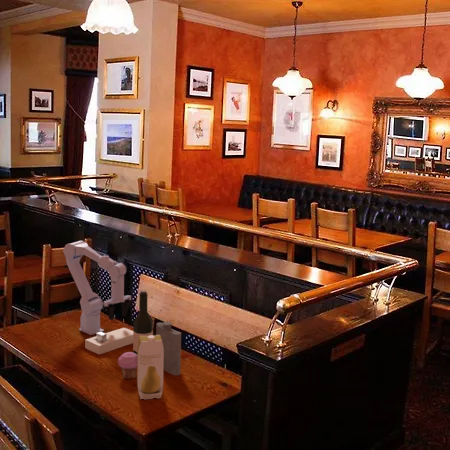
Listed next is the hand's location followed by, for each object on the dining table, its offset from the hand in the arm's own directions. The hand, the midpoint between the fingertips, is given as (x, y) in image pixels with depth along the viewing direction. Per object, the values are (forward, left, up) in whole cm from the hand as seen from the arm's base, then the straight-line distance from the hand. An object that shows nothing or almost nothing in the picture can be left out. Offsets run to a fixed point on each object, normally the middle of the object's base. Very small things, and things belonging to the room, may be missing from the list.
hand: (117, 317), depth 281 cm
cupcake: (+37, -24, -10) cm, 45 cm away
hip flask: (+42, -8, -10) cm, 44 cm away
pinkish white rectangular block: (+6, -14, -9) cm, 18 cm away
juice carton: (+55, -29, -10) cm, 63 cm away
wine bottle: (+27, -8, -10) cm, 30 cm away
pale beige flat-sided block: (+6, -8, -9) cm, 14 cm away
